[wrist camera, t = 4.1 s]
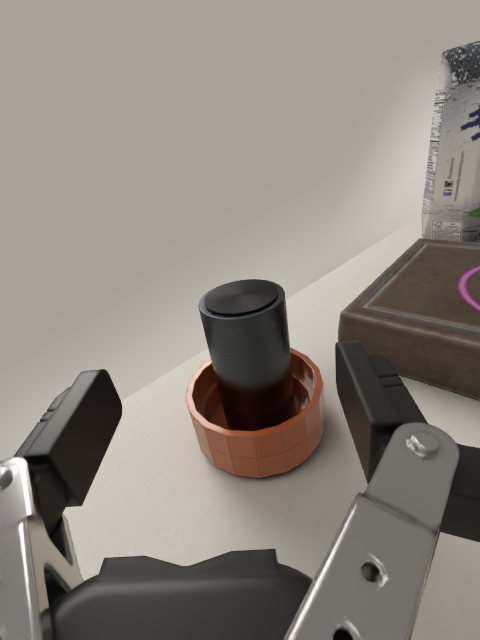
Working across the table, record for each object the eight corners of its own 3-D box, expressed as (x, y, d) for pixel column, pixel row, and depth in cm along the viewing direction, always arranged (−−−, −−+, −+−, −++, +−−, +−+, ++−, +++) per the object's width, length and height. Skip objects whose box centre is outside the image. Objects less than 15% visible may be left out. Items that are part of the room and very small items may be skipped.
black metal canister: (215, 438, 26) (181, 314, 20) (242, 390, 30) (220, 276, 25) (286, 455, 24) (269, 319, 18) (303, 400, 28) (293, 277, 23)
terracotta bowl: (175, 464, 25) (159, 421, 23) (228, 377, 33) (220, 339, 31) (309, 499, 21) (305, 452, 19) (332, 391, 29) (331, 349, 27)
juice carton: (413, 242, 56) (435, 38, 43) (436, 224, 62) (461, 40, 49) (475, 248, 50) (523, 14, 37) (493, 227, 56) (539, 20, 43)
